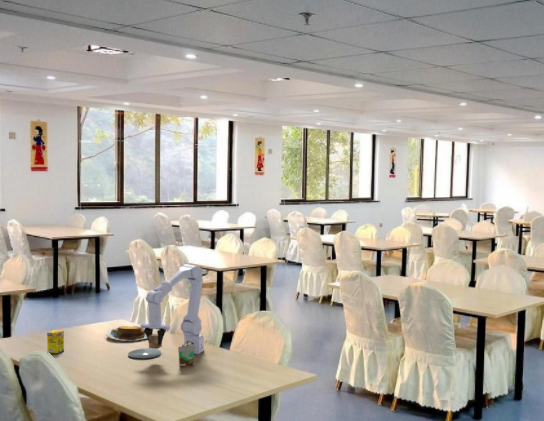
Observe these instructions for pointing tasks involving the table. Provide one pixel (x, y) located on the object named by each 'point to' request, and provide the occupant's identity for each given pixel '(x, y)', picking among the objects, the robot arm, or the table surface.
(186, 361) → the food container
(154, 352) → the slate dish
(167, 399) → the table surface
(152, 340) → the walnut block
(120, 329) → the food on plate
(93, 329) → the table surface
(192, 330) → the robot arm
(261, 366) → the table surface
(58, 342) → the supplement box
